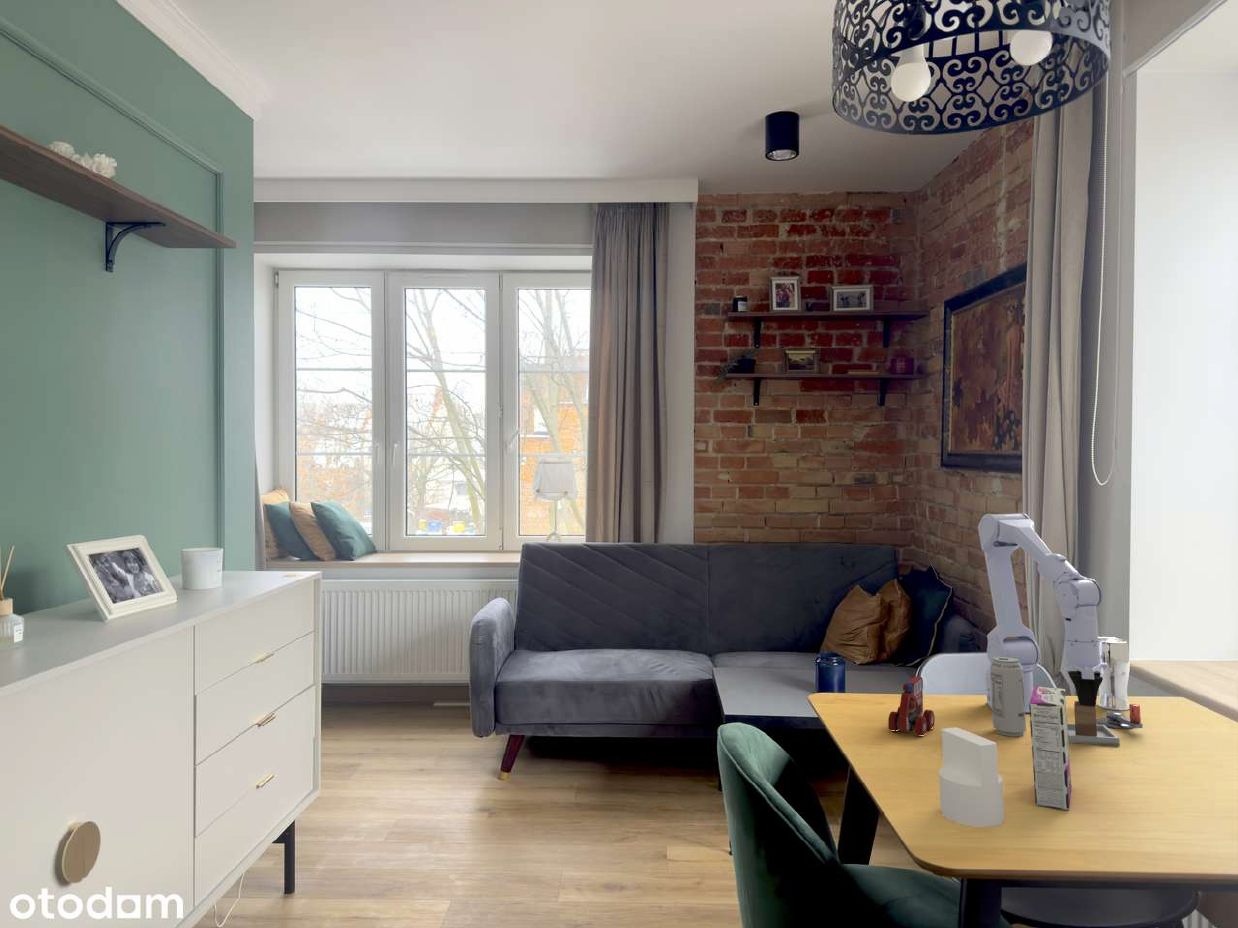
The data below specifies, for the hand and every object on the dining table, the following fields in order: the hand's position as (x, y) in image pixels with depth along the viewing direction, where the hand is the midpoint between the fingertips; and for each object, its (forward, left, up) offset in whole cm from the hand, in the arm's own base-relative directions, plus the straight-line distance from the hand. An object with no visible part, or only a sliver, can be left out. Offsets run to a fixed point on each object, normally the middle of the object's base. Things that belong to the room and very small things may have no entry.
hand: (1087, 709), depth 153 cm
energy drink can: (-14, +1, -6) cm, 15 cm away
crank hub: (+8, +11, -6) cm, 15 cm away
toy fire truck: (-33, -1, -6) cm, 34 cm away
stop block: (-1, -1, -5) cm, 5 cm away
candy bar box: (-14, -33, -6) cm, 36 cm away
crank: (+9, +9, -4) cm, 13 cm away
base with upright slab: (-28, -43, -6) cm, 52 cm away
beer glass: (+12, +25, -6) cm, 29 cm away
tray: (0, +1, -6) cm, 6 cm away
